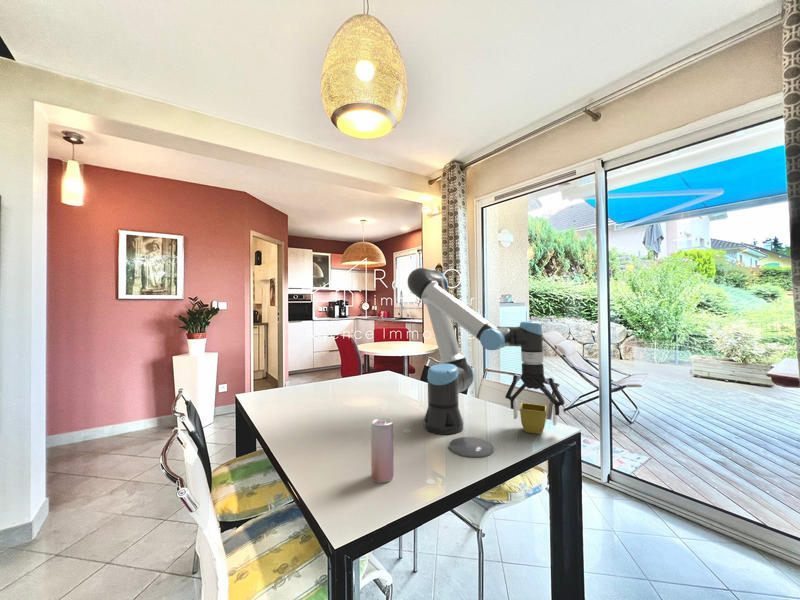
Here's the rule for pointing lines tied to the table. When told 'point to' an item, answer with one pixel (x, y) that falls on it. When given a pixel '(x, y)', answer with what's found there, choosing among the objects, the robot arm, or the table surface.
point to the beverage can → (382, 450)
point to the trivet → (471, 447)
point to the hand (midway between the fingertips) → (534, 420)
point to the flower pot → (533, 417)
